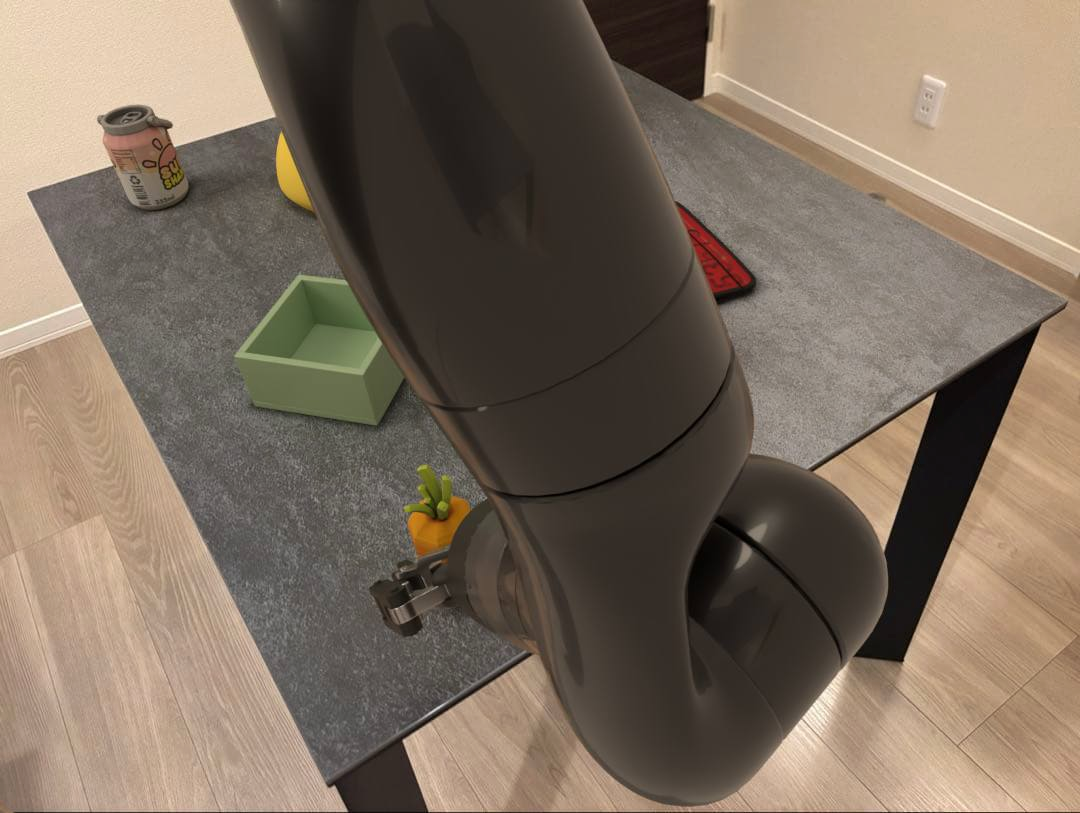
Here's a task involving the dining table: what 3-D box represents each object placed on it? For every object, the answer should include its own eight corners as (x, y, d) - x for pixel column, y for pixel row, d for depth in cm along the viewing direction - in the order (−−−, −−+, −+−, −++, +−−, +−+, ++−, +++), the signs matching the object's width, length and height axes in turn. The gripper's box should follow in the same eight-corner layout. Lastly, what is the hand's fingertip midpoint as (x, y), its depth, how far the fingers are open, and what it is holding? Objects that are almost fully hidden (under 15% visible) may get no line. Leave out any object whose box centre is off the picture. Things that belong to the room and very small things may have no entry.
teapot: (283, 152, 124) (256, 60, 114) (401, 133, 126) (384, 41, 116) (284, 241, 106) (251, 141, 96) (420, 217, 108) (402, 117, 98)
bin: (377, 426, 81) (363, 375, 76) (254, 406, 84) (233, 356, 79) (426, 338, 90) (416, 288, 85) (314, 323, 93) (298, 274, 89)
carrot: (488, 627, 64) (465, 507, 54) (425, 628, 65) (389, 509, 54) (492, 573, 68) (470, 450, 57) (432, 575, 68) (399, 452, 58)
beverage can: (151, 177, 120) (117, 97, 112) (205, 179, 119) (174, 98, 111) (119, 211, 114) (80, 129, 106) (175, 213, 113) (140, 130, 104)
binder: (636, 313, 87) (558, 219, 101) (635, 331, 89) (558, 235, 103) (766, 278, 91) (673, 192, 106) (762, 295, 93) (671, 208, 107)
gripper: (630, 439, 42) (533, 452, 58) (374, 566, 38) (342, 543, 53) (688, 571, 43) (576, 549, 58) (442, 713, 38) (390, 648, 53)
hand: (464, 546), depth 56 cm, fingers open, 8 cm apart
